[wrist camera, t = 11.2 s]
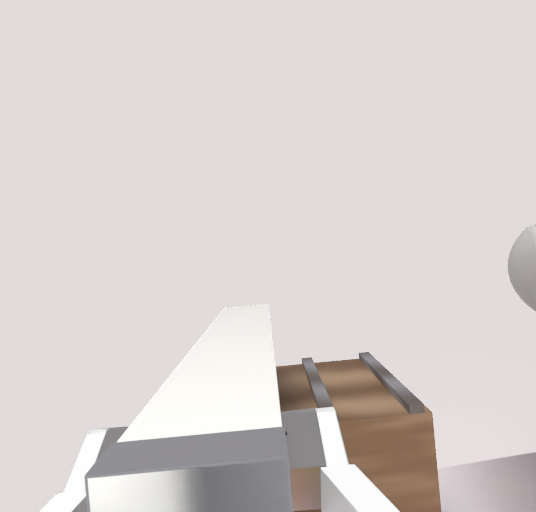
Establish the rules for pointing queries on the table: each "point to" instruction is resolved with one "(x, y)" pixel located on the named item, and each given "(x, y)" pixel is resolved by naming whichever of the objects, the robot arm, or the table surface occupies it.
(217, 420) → the bar
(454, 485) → the table surface
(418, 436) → the slot shelf
